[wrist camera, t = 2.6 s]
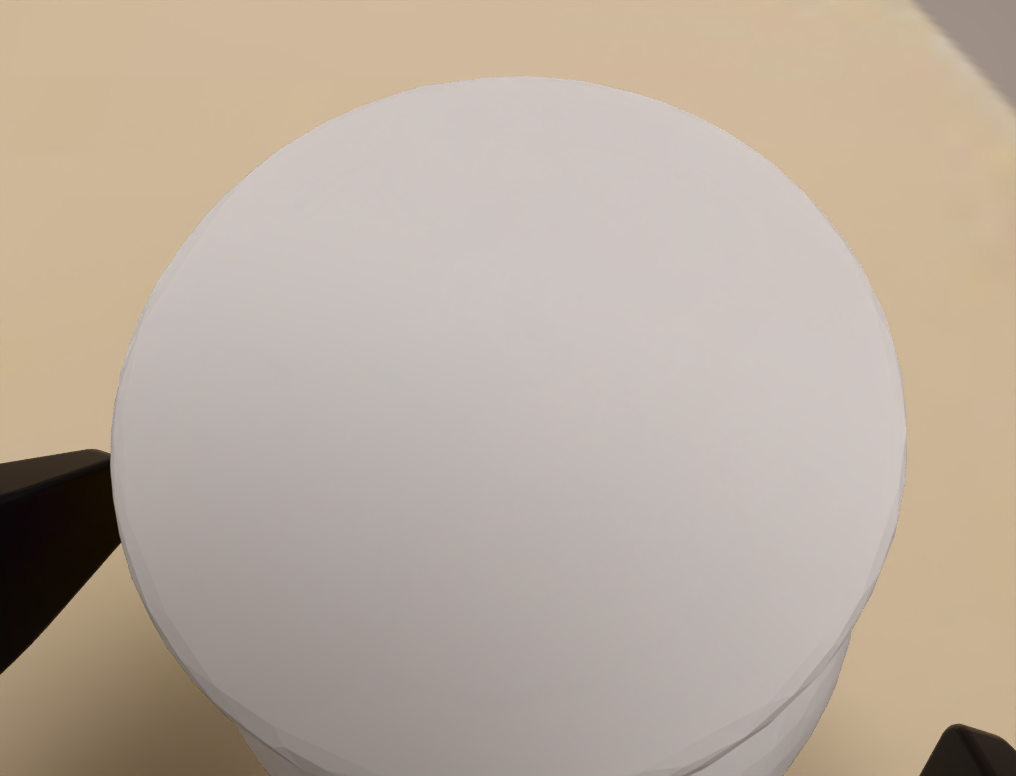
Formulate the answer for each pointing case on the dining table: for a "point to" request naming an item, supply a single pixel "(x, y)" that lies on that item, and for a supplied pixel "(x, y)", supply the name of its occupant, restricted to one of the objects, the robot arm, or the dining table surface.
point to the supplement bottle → (512, 444)
